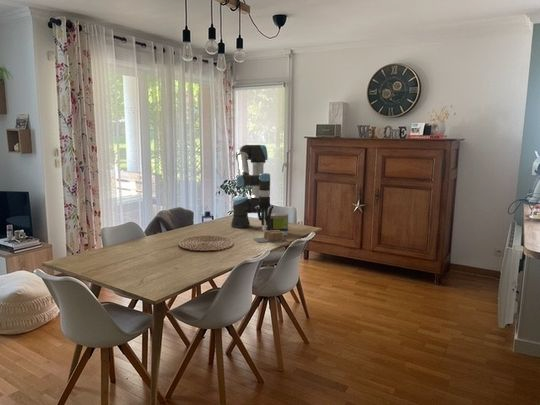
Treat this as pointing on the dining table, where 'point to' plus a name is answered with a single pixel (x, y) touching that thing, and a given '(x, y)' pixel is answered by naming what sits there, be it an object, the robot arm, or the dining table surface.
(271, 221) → the tea box
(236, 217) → the robot arm
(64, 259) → the dining table surface
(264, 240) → the slate mat
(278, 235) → the tan upright block
